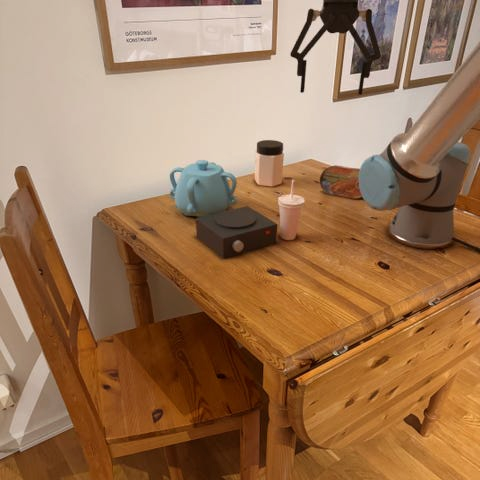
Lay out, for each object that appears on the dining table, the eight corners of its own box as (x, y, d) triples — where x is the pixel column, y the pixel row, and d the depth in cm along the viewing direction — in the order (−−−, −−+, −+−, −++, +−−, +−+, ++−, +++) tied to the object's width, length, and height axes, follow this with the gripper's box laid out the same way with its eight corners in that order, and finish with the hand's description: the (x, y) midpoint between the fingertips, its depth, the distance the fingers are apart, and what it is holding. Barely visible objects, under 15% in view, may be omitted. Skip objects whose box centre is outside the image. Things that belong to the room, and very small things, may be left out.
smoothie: (299, 231, 113) (305, 176, 105) (302, 242, 108) (309, 186, 100) (274, 230, 113) (278, 176, 105) (275, 242, 108) (280, 185, 100)
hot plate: (279, 245, 107) (280, 223, 104) (226, 260, 100) (225, 238, 97) (247, 224, 117) (247, 203, 113) (196, 237, 110) (195, 215, 107)
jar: (267, 188, 138) (269, 149, 131) (249, 182, 143) (250, 143, 136) (286, 182, 143) (289, 143, 136) (268, 176, 148) (270, 138, 141)
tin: (317, 192, 136) (321, 164, 131) (321, 189, 138) (324, 161, 133) (366, 201, 131) (371, 172, 126) (369, 198, 133) (374, 169, 128)
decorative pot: (242, 218, 120) (243, 167, 112) (184, 226, 115) (181, 174, 107) (221, 197, 132) (220, 150, 124) (168, 204, 127) (164, 155, 119)
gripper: (402, -19, 95) (383, 91, 107) (286, -19, 99) (280, 88, 111) (406, -21, 89) (385, 97, 101) (282, -20, 93) (277, 93, 105)
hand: (330, 92), depth 106 cm, fingers open, 13 cm apart
